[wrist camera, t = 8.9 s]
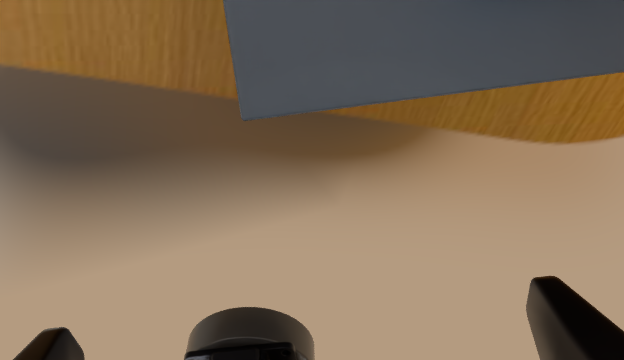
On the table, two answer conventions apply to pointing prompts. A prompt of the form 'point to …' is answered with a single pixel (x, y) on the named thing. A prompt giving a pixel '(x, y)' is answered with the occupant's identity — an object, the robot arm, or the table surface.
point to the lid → (411, 49)
